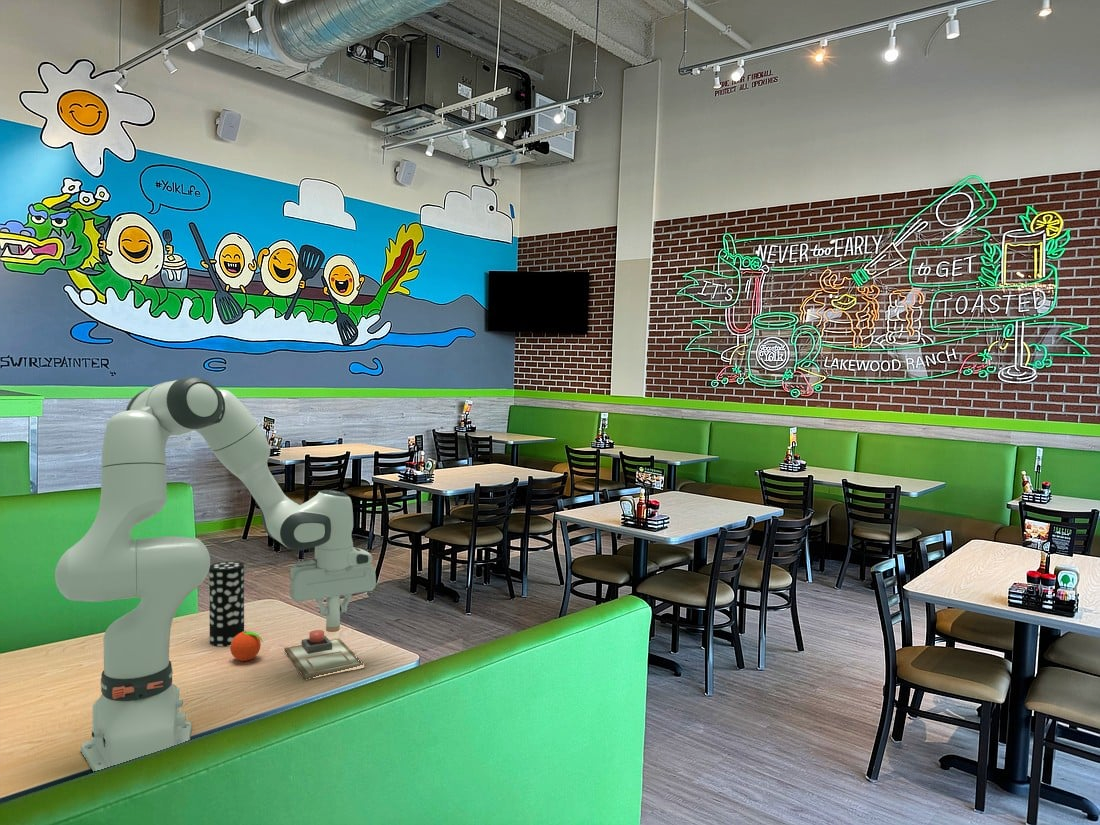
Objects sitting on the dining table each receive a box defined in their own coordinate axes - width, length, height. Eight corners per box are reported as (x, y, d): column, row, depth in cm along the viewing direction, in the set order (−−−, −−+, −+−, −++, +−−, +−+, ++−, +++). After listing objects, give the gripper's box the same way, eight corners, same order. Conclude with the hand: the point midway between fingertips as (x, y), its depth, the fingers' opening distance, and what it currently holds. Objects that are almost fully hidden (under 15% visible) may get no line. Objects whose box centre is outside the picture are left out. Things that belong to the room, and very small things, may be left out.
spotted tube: (236, 647, 196) (235, 570, 194) (203, 646, 196) (203, 569, 194) (249, 635, 204) (249, 561, 203) (218, 634, 204) (217, 561, 203)
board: (364, 668, 184) (364, 657, 184) (305, 680, 176) (305, 668, 176) (339, 642, 201) (339, 631, 200) (284, 651, 193) (284, 641, 193)
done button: (326, 640, 193) (326, 633, 193) (311, 643, 191) (311, 636, 191) (321, 636, 196) (321, 629, 196) (307, 638, 194) (307, 631, 194)
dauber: (342, 630, 185) (342, 585, 184) (328, 633, 183) (328, 587, 182) (337, 626, 188) (338, 581, 187) (323, 628, 186) (324, 583, 185)
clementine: (269, 655, 190) (269, 627, 190) (256, 666, 184) (256, 637, 183) (239, 653, 191) (239, 626, 191) (224, 664, 184) (224, 635, 184)
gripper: (293, 566, 175) (293, 625, 176) (378, 555, 187) (378, 610, 188) (286, 559, 180) (286, 616, 182) (369, 549, 192) (368, 602, 193)
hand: (333, 613), depth 185 cm, fingers closed on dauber, 3 cm apart
